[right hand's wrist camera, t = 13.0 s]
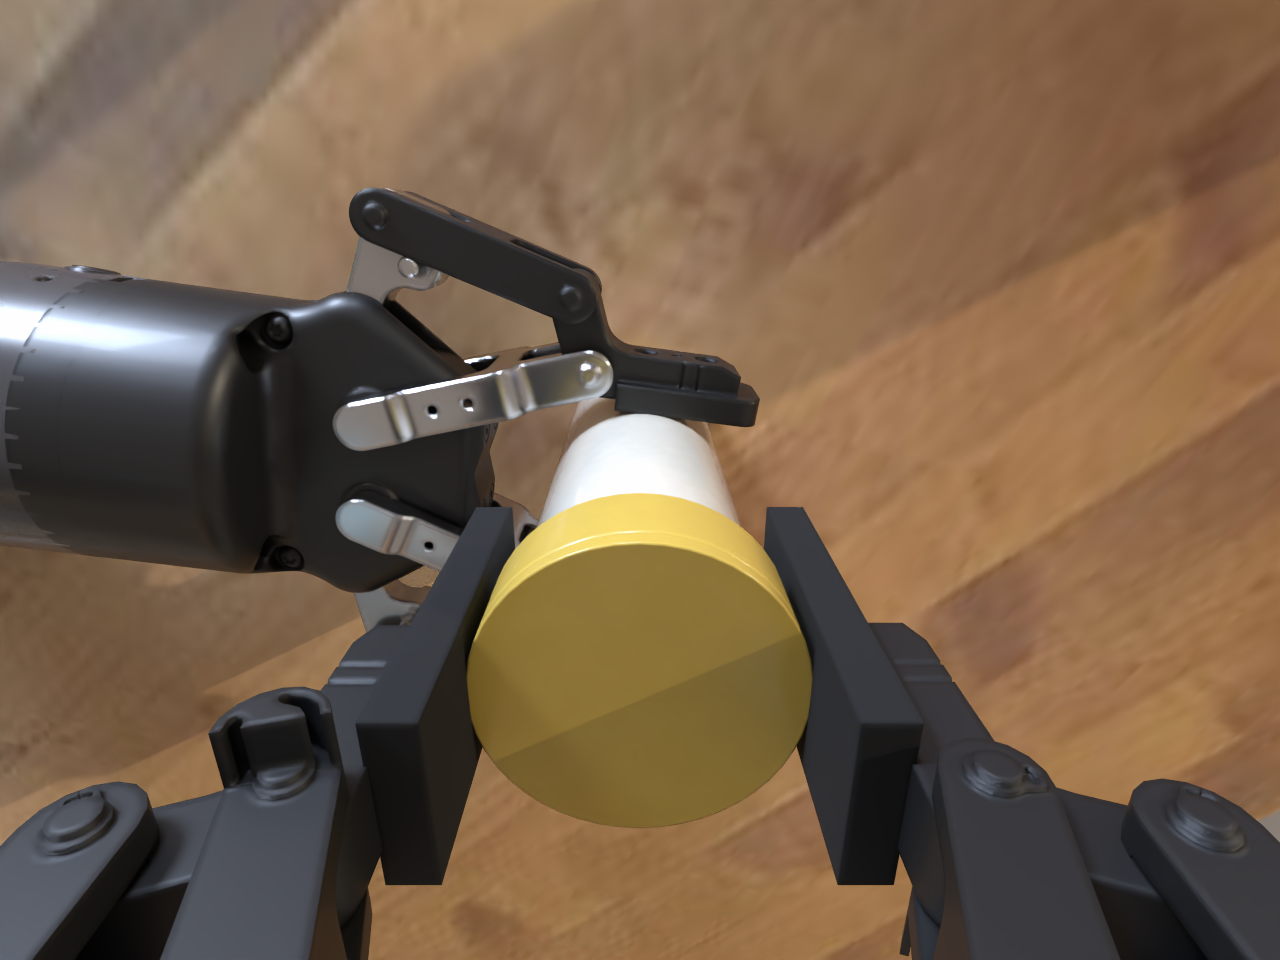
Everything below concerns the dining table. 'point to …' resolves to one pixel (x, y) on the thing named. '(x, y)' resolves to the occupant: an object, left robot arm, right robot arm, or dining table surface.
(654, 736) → the lid
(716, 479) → the jar
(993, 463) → the dining table surface
